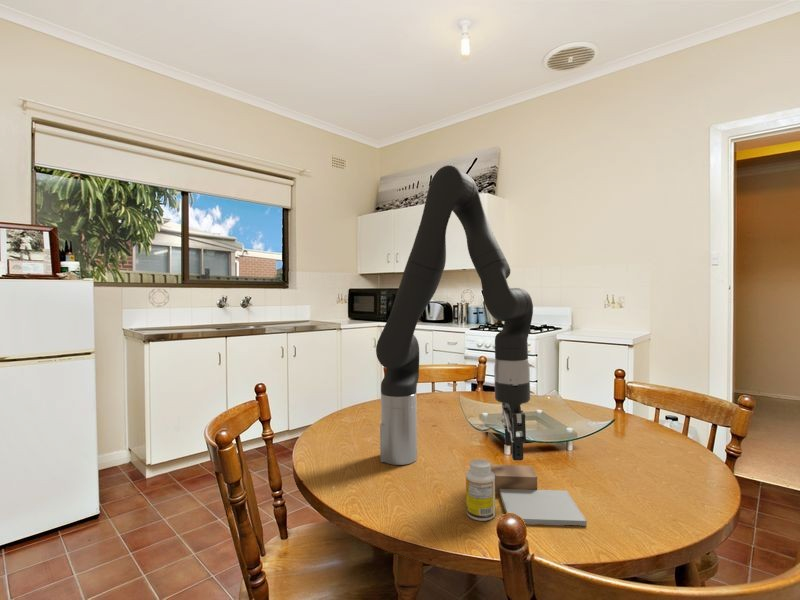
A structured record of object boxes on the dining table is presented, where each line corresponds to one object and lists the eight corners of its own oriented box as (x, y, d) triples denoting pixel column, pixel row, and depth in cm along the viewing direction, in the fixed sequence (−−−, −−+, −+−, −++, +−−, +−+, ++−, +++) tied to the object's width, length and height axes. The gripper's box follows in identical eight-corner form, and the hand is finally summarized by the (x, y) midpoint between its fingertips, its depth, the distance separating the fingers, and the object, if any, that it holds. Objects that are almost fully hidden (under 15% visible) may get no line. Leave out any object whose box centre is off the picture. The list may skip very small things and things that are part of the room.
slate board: (509, 523, 81) (509, 518, 81) (499, 493, 93) (499, 488, 93) (586, 526, 80) (586, 520, 80) (566, 495, 92) (566, 490, 92)
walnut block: (489, 494, 93) (489, 475, 93) (487, 481, 99) (486, 464, 99) (537, 495, 92) (537, 477, 92) (531, 483, 98) (531, 465, 98)
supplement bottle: (475, 504, 88) (475, 454, 88) (500, 513, 85) (500, 461, 84) (460, 515, 84) (460, 463, 84) (486, 525, 80) (485, 471, 80)
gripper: (490, 373, 103) (491, 441, 103) (500, 386, 89) (501, 465, 89) (522, 372, 102) (523, 441, 103) (537, 385, 88) (539, 465, 88)
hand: (513, 452), depth 96 cm, fingers open, 8 cm apart
